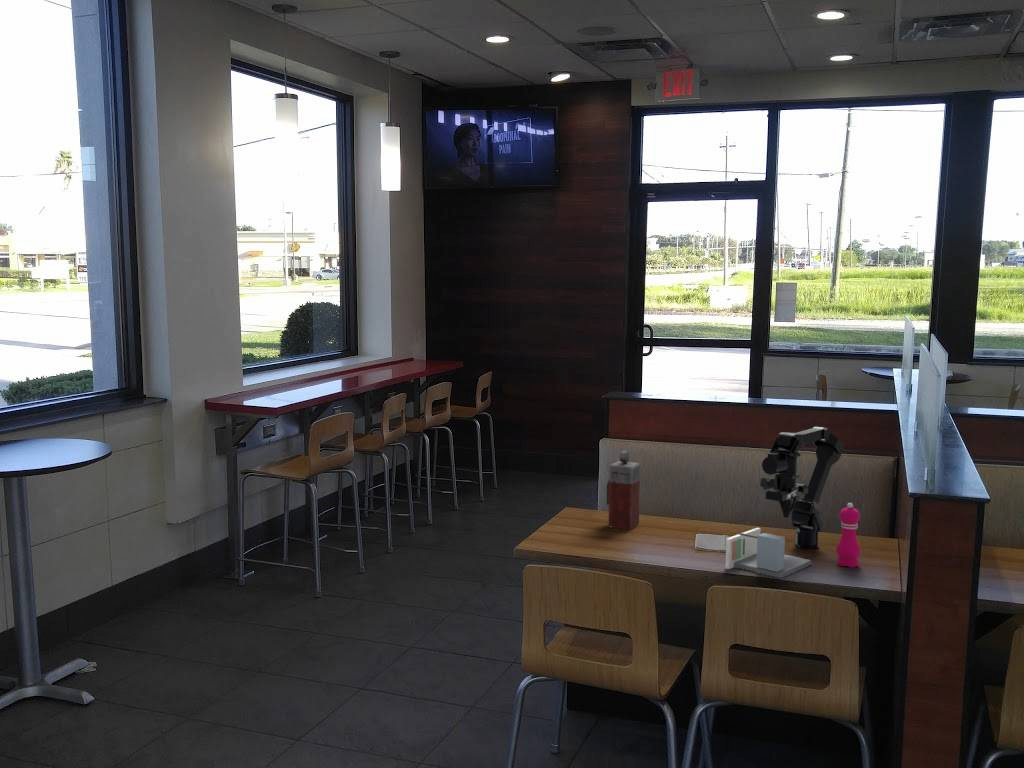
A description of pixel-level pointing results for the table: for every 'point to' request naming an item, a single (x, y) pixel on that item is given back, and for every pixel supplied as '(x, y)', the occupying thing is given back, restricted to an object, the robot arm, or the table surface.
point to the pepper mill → (848, 537)
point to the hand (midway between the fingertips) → (786, 517)
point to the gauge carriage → (769, 551)
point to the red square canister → (623, 493)
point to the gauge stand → (745, 556)
